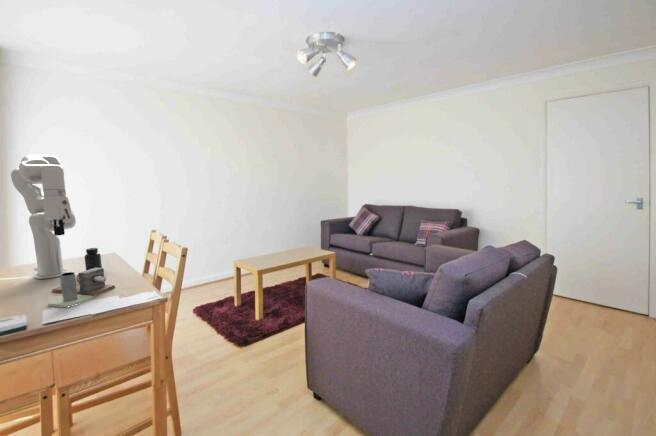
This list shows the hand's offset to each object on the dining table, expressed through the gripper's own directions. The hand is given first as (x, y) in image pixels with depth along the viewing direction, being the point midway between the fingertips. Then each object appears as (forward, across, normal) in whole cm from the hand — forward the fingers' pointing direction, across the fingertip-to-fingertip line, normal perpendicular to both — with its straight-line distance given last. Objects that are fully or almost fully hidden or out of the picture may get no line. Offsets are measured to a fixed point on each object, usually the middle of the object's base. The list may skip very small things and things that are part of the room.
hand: (59, 234), depth 145 cm
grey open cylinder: (+22, -22, +15) cm, 34 cm away
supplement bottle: (+23, +7, -20) cm, 31 cm away
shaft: (+20, -20, +3) cm, 28 cm away
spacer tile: (+23, -22, +15) cm, 35 cm away
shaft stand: (+23, -14, +3) cm, 27 cm away
